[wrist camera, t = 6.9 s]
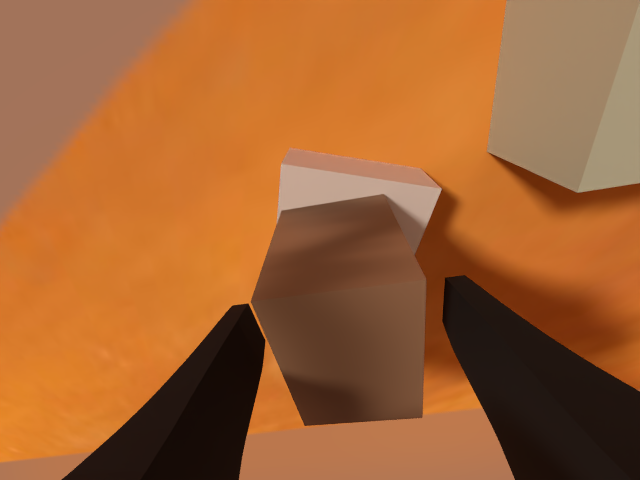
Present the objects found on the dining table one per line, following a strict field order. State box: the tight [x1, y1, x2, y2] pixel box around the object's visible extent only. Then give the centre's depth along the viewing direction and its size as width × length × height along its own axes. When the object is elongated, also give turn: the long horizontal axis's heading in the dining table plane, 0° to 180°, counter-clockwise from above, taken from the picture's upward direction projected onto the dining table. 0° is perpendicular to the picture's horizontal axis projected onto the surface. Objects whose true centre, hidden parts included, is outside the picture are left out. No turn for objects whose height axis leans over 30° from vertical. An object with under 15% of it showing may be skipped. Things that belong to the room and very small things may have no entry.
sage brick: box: [487, 0, 640, 193], centre depth 8 cm, size 4×6×5 cm, turn 11°
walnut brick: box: [251, 194, 426, 426], centre depth 10 cm, size 4×6×5 cm, turn 10°
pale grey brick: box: [277, 148, 442, 255], centre depth 13 cm, size 6×8×3 cm
